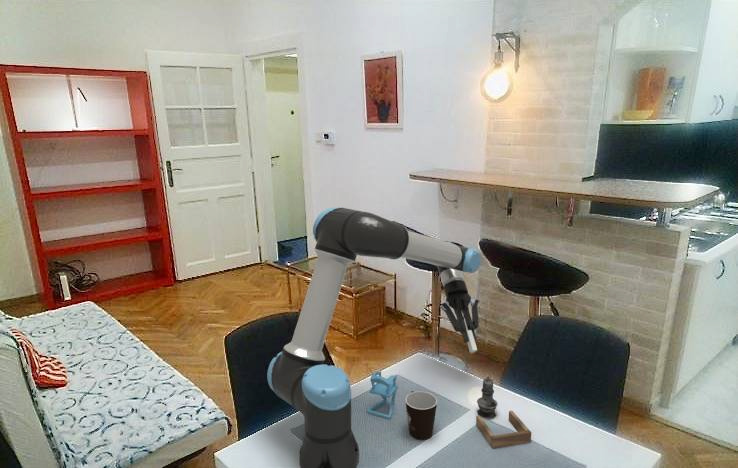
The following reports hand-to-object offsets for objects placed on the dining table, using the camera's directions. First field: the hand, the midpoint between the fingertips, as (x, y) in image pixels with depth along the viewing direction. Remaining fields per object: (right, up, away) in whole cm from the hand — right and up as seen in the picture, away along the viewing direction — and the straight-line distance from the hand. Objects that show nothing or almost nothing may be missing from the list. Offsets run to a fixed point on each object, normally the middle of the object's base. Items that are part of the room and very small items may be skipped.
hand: (473, 351), depth 141 cm
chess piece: (+2, -16, -8) cm, 18 cm away
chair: (-28, -16, -5) cm, 33 cm away
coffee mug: (-18, -18, -15) cm, 30 cm away
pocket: (+4, -18, -17) cm, 25 cm away
